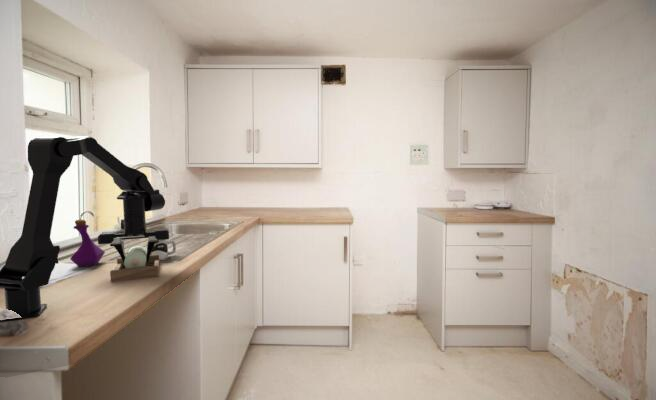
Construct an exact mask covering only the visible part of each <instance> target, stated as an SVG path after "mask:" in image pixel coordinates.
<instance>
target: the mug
mask: <svg viewBox="0 0 656 400" xmlns="http://www.w3.org/2000/svg"><path fill="white" fill-rule="evenodd" d="M169 244H170V245H171V244H172V250H170V251H169V250H168V249H169V248H168V245H169ZM176 246H177V245H176V241H175V240H168V239H166V240H159V243H155V245H154V247H153V249H152V251H151V254H150V255H156V254H159V262H161V260H162V261H166V260H168V259H169V256H170V255H173V254H175V253H176V249H177V247H176ZM147 248H148V240H146V249H147ZM167 258H168V259H167ZM165 259H166V260H165Z"/></svg>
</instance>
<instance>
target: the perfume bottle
mask: <svg viewBox="0 0 656 400" xmlns="http://www.w3.org/2000/svg"><path fill="white" fill-rule="evenodd" d="M86 213H88V214H90V215H91V216H92V217H93V218H95V214H94V213H93V212H92V211H90V210H87V211H86V210H85V211H84V212H82V213H81V214H80V218H79V219H76V220H75V221H74V223H75V225H74V226H73V229H75V230H77V232H79V234H80V237H81V244H80V246H79V247H78V248H77V250H76V251H75V252H74V253H73V254H72V255H71V257H69V258H70V261H72V262H73V263H74V264H75V265H77V267H79V266H87V267H94V266H96V265H97V264H98V263H99V262H100V261H101V259H102V258H103V256H104V254H105V253H106V252H105V251H104V250H103V249H102V248H101V247H100V246H98V244H95V242H94V241H93V240H92V238H91V236H90V235H89V234H88V231H87V230H88V228H89V227H90V226H89V224H87V220H85V219H82V217H83V216H84V215H85V214H86Z"/></svg>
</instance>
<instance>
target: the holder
mask: <svg viewBox="0 0 656 400" xmlns="http://www.w3.org/2000/svg"><path fill="white" fill-rule="evenodd" d="M122 268H123V269H122ZM159 271H160V261H159V254H156V255H150V257H149V261H148V262H147V260H146V264H145V266H144V267H138V268H129V269H127V268H126V267H125V265H124V262H123V260H122V258H121V257H117V258H116V265H115V267H114V269H112V270H110V271H109V273H110V275H109V277H110V283H113V282H121V281H129V280H138V279H147V278H148V277H149V278H155V277H156V276H157V277H159V273H160V272H159Z"/></svg>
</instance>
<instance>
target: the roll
mask: <svg viewBox="0 0 656 400" xmlns="http://www.w3.org/2000/svg"><path fill="white" fill-rule="evenodd" d="M146 257H147V248H145V247H144V246H142V245H136V246H133V247H131V248H129V250H128V252H127V254H126V258H125V260H124V265H125V267H124V268H125V269H129V268H138V267H146V265H145V264H146Z"/></svg>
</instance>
